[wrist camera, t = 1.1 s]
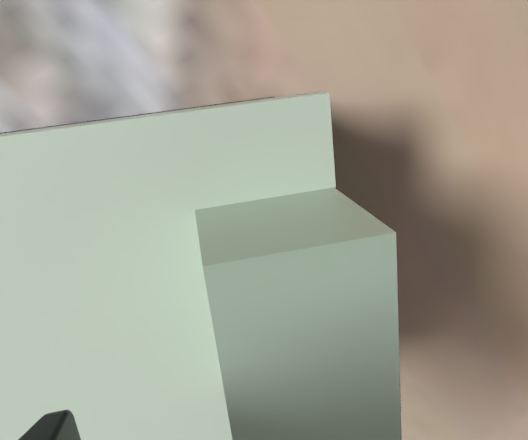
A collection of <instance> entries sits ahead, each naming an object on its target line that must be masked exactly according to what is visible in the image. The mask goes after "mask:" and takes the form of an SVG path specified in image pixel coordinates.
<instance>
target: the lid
mask: <svg viewBox="0 0 528 440" xmlns="http://www.w3.org/2000/svg"><path fill="white" fill-rule="evenodd" d="M61 410H70V411H71V412H72V414H73V415H74V418H75V422H76V425H77V428H78V431H79V435H80V438H81V440H402V439H401V400H400V362H399V323H398V285H397V246H396V232H395V231H394V230H392V229H391V228H390V227H388V226H387V225H386V224H384V223H383V222H381V221H380V220H379V219H377V218H376V217H374V216H373V215H372V214H370V213H369V212H367V211H366V210H365V209H363V208H362V207H361V206H359V205H358V204H356V203H355V202H354V201H352V200H351V199H349V198H348V197H347V196H345V195H344V194H343V193H341V192H340V191H338V190H337V189H336V181H335V166H334V151H333V137H332V122H331V107H330V93H328V92H312V93H304V94H297V95H289V96H282V97H274V98H267V99H259V100H252V101H244V102H237V103H229V104H222V105H214V106H206V107H199V108H191V109H184V110H176V111H169V112H161V113H154V114H146V115H139V116H131V117H124V118H116V119H108V120H101V121H93V122H86V123H78V124H71V125H63V126H56V127H48V128H41V129H33V130H26V131H18V132H10V133H3V134H0V440H18V439H19V438H20V437H21V436H22V435H24V434H25V433H26V432H27V431H28V430H29V429H30V428H31V427H32V426H33V425H34V424H35V423H36V422H37V421H38V420H39V419H40V418H41V417H42V416H43V415H45V414H47V413H52V412H56V411H61Z"/></svg>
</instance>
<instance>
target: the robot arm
mask: <svg viewBox="0 0 528 440" xmlns="http://www.w3.org/2000/svg"><path fill="white" fill-rule="evenodd" d="M18 440H81V438H80V435H79V431H78V428H77V425H76V422H75V418H74V415H73V414H72V412H71V411H70V410H61V411H56V412H52V413H47V414H45V415H43V416H42V417H41V418H40V419H39V420H38V421H37V422H36V423H35V424H34V425H33V426H32V427H31V428H30V429H29V430H28V431H27V432H26V433H25V434H24V435H22V436H21V437H20V438H19V439H18Z"/></svg>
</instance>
